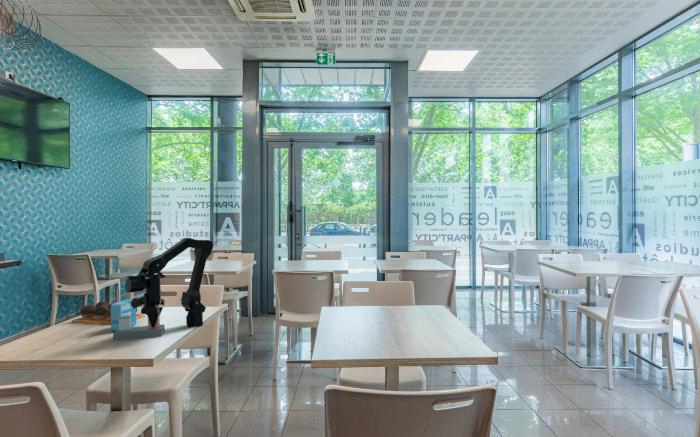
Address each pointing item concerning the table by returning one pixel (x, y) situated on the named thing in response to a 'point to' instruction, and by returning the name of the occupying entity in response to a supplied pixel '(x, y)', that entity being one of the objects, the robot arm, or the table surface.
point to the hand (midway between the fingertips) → (153, 326)
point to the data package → (122, 313)
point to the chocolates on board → (98, 314)
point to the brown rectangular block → (156, 323)
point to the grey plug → (124, 322)
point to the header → (139, 333)
